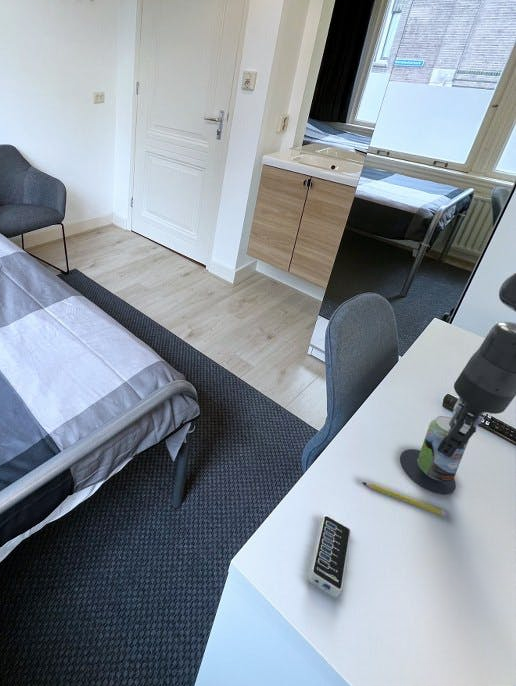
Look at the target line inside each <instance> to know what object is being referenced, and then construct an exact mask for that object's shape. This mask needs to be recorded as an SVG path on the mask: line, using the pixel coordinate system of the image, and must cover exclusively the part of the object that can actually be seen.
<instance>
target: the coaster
mask: <svg viewBox="0 0 516 686" xmlns="http://www.w3.org/2000/svg"><path fill="white" fill-rule="evenodd" d="M420 451H421V449H414V448H409V449H405V450H404V451H402V452H401V454H400V455H399V456H400V457H399V462H400V465H401V468H402V470H403V471H404V473H405V474H406V475H407V476H408V477H409V478H410V479H411V480H412V481H413V482H414V483H415V484H417V485H418V486H419V487H421V488H423V489H425V490H427V491H428V492H431V493H434V494H437V495H449V494H452V493H453V492H454V491H455V489H456V486H457V485H456V479H455V478H454V479H453V480H451V481H439V480H436V479H433V478H431V477H430V476H428V475H427V474H426V473H424V472H423V471H422V470H421V468H420V467H419V465H418V463H417V460H418V457H419V454H420Z"/></svg>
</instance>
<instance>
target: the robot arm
mask: <svg viewBox="0 0 516 686" xmlns="http://www.w3.org/2000/svg"><path fill="white" fill-rule="evenodd" d="M498 298H499V300H500V302H501V303H502V304H503V305H504V306H505V307H506V308H508V309H510V310H512V311H513V312H515V313H516V272H515V273H512V274H511V275H510V276H508V277H507V278H506V279H505V280H504V281H503V283H502V284H501V286H500V288H499V291H498ZM453 389H454V391H455V394H456V395H457V396H458V398H457V401H456V403H455V404H454V406H453V410H452V412H451V413H452V415H451V417H450V418H451V419H450V421H449V426H450V428H449V430H448V432H447V433H446V434H445V437H444V439H443V440H442V442H441V443H440V445H439V446H438V451H439V452H440V453H442V454H444V455H446V456H447V457H451V456H452V455H453V454H454V452H455V451H456V449H457V448H458V449H460V450H461V449H463V447H464V445H465V444H466V442H467V441H468V440H470V439H471V437H472V436H473V435H474V434H475V433H476V432H477V427H478V425H480V424H482V422H483V421H484V420H485V414H493V415H494V414H495V415H498V414H501V413H504V412H505V411H506V409H507V408H508V407H509V406H510V404H511V403H512V401H514V399H515V397H516V322H512V321H510V322H509V321H500V322H497V323H495V324H494V326H492V328H491V329H490V331H489V332H488V333H487V335H486V336H485V338H484V340H483V341H482V343H481V345H480V346H479V347H478V349H477V350H476V351H475V352H473V354H472V356H471V357H470V358H469V360H468V361H467V363H466V364H465V366H464V368H463V369H462V371H461V372H460V374H459V376H458V377H457V378H456V379H455V382H454V383H453ZM455 420H457V421H456V423H455V422H454V421H455ZM468 442H469V441H468Z"/></svg>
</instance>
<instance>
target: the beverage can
mask: <svg viewBox="0 0 516 686" xmlns="http://www.w3.org/2000/svg"><path fill="white" fill-rule="evenodd" d="M450 419H451V417H450V416H444V415H438V416H437V417H435V418H434V419H432V420H431V421H430V423H429V424H428V428H427V431H426V433H425V437H424V439H423V442H422V444H421V445H422V446H421V449H420V454H419V457H418V460H417V463H418V465H419V467H420V468H421V470H422V471H423V472H424V473H426V474H427V475H428V476H430V477H431V478H433V479H436V480H439V481H451V480H453V479H455V477H456V474H457V472H458V469H459V466H460V464H461V461H462V459H463V456H464V454H465V452H466V449H467V446H468V443H469V440H470V439H469V440H468V441H467V442H466V444H465V445H464V447H463V449H461V450H460V449H458V448H457V449H456V451H455V452H454V454H453V455H452V456H451V457H447V456H446V455H444V454H442V453H440V452H439V451H438V446H439V445H440V443H441V442H442V440H443V439H444V437H445V434H446V433H447V432H448V430H449V428H450V426H449V421H450ZM456 421H457V420H455V421H454V422H455V423H456Z"/></svg>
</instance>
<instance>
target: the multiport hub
mask: <svg viewBox="0 0 516 686" xmlns="http://www.w3.org/2000/svg"><path fill="white" fill-rule="evenodd" d="M351 533H352V530H351V528H350V527H348V526H346V525H345V524H343V523H341V522H339V521H338V520H336V519H334V518H332V517H331V516H329V515H328V514H323V516H322V518H321V519H320V521H319V524H318V528H317V532H316V537H315V542H314V545H313V546H314V547H313V551H312V555H311V560H310V564H309V569H308V573H307V580H308V582H309V583H311V584H313V585H314V586H315V587H317V588H319V589H320V590H321V591H323V592H325V593H326V594H328V595H330V596H331V597H333V598H335V599H337V598H338V597H339V596H340V594H341V592H342V590H343V585H344V580H345V575H346V574H345V573H346V566H347V559H348V553H349V547H350V539H351Z"/></svg>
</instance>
